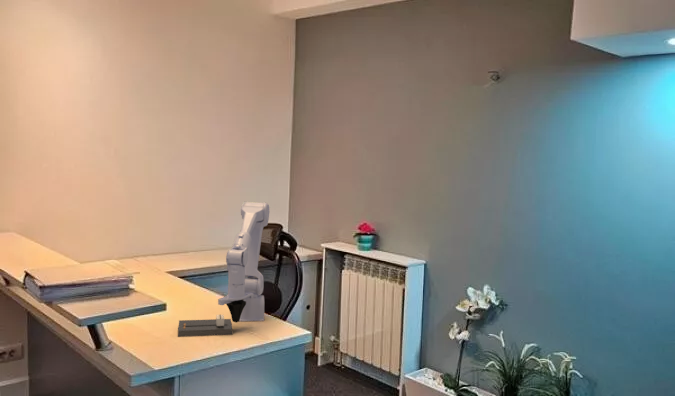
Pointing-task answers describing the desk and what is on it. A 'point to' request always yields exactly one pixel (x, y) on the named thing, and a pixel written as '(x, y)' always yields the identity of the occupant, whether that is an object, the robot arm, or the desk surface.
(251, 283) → the robot arm
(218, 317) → the fader knob
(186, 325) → the fader console
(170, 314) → the desk surface
